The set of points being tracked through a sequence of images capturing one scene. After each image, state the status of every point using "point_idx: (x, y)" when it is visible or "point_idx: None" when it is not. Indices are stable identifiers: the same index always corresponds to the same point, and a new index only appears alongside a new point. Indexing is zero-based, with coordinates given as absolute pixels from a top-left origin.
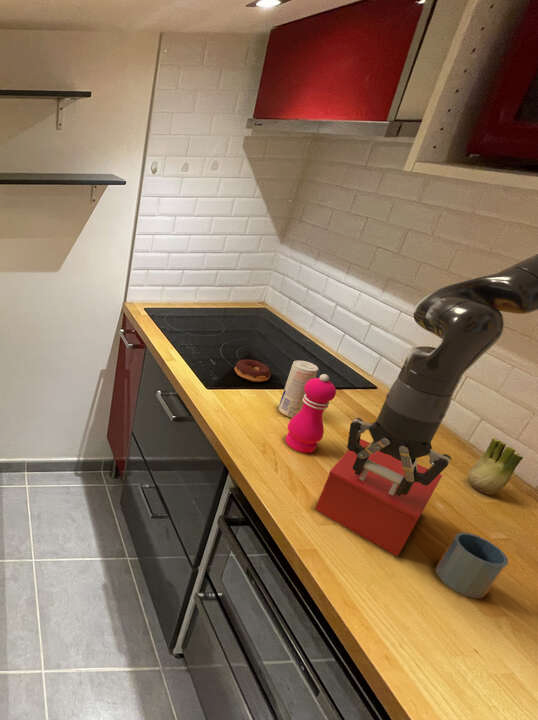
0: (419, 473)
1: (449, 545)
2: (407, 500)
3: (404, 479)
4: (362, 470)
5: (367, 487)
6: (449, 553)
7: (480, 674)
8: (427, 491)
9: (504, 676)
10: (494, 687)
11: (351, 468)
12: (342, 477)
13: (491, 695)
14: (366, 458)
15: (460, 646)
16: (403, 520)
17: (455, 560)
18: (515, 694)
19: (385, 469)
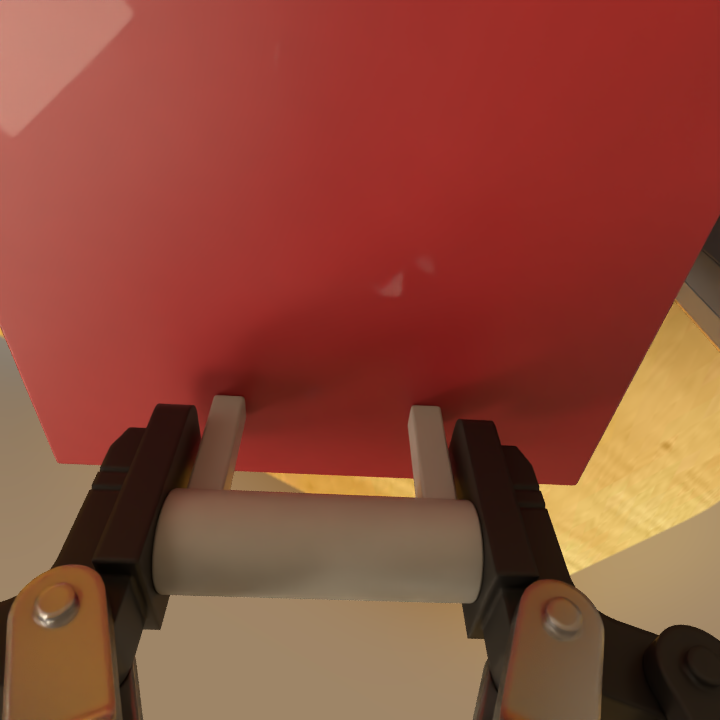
0: (611, 711)
1: (718, 282)
2: (522, 403)
3: (481, 638)
4: (191, 441)
5: (289, 453)
6: (700, 313)
7: (655, 489)
8: (709, 163)
9: (709, 464)
10: (674, 497)
11: (116, 340)
12: None
13: (661, 514)
14: (141, 599)
15: (631, 457)
16: None
17: (712, 343)
18: (714, 486)
19: (327, 596)
